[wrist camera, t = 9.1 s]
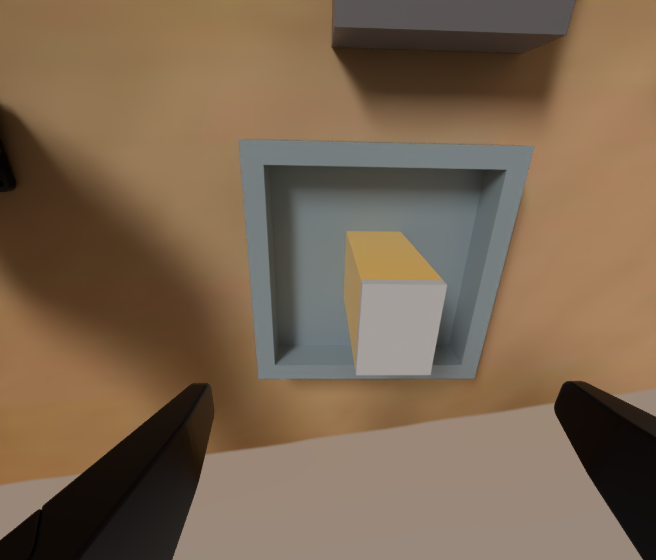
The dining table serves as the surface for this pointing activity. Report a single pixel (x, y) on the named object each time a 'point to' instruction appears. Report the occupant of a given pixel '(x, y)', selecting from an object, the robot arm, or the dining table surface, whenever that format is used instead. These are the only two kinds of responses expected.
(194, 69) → the dining table surface
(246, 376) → the dining table surface
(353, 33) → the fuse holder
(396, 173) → the parts tray
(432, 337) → the block
